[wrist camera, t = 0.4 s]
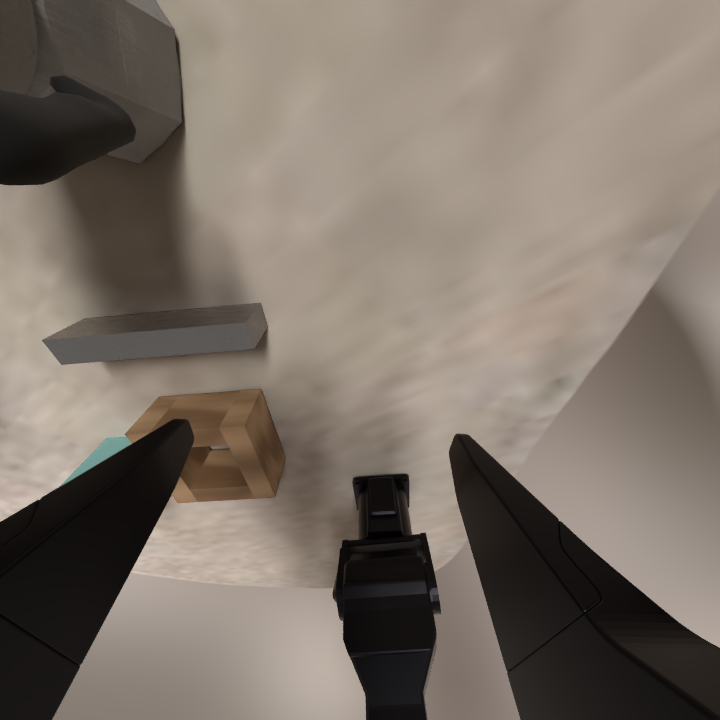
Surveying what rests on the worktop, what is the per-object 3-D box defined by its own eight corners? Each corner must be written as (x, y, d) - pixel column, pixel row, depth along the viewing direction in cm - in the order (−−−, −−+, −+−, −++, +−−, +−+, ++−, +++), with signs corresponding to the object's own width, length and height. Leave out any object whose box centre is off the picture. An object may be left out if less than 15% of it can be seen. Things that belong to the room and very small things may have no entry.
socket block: (285, 458, 31) (275, 497, 27) (199, 463, 31) (177, 503, 27) (260, 389, 26) (244, 425, 22) (158, 397, 26) (124, 434, 22)
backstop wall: (267, 326, 22) (254, 349, 19) (99, 341, 23) (61, 364, 20) (260, 302, 21) (245, 322, 18) (84, 318, 22) (41, 340, 19)
